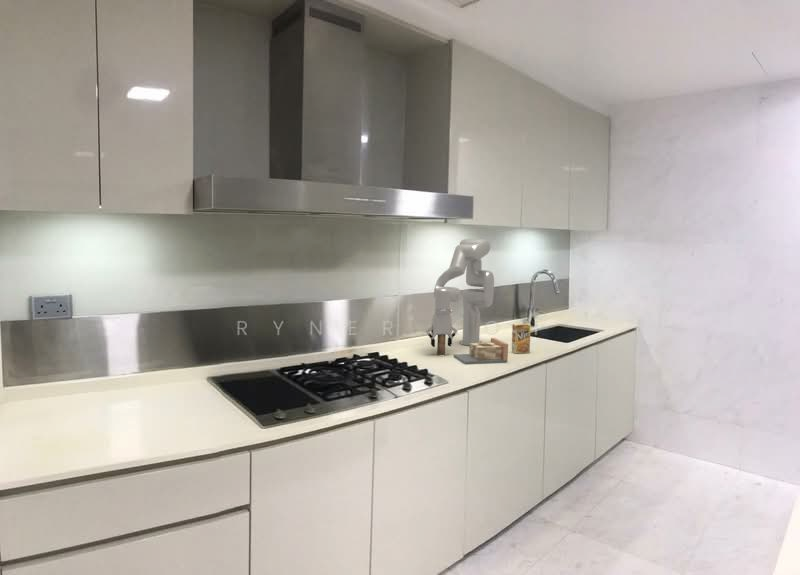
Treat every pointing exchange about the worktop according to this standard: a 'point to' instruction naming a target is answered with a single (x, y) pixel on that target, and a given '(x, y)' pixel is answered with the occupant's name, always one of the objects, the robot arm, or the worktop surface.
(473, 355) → the socket block
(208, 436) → the worktop surface
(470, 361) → the rail board
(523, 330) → the candy box
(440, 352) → the dowel
